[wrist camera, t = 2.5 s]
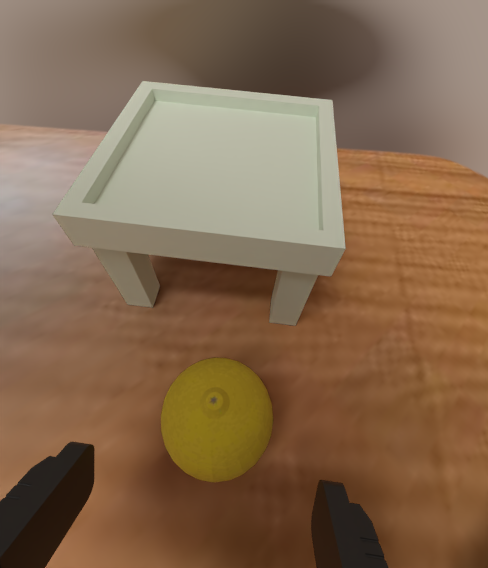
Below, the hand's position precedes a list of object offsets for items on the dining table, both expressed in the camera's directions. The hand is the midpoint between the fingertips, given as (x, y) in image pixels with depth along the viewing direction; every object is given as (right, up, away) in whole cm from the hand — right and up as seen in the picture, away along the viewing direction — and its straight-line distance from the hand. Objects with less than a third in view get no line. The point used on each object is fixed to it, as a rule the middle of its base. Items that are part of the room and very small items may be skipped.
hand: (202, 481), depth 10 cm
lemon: (0, -2, +8) cm, 8 cm away
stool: (0, +10, +16) cm, 18 cm away
